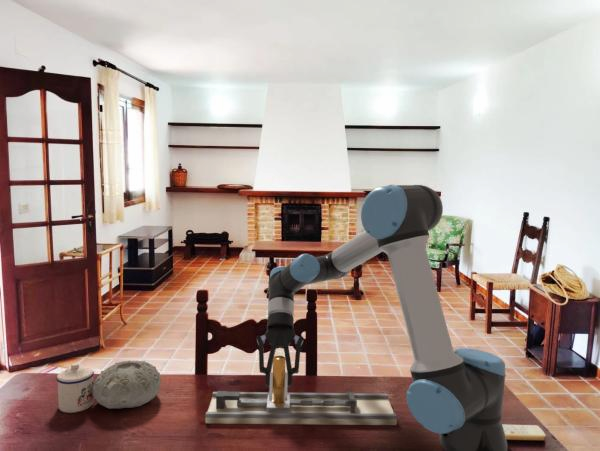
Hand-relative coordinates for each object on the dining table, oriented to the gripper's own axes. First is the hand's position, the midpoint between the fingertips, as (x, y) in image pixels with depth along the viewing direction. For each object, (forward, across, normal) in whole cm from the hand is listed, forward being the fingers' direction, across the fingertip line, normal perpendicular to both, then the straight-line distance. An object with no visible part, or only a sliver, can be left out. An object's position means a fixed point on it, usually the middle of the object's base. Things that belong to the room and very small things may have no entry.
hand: (278, 398), depth 122 cm
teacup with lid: (-1, +55, -10) cm, 55 cm away
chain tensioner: (0, -5, -5) cm, 7 cm away
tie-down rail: (+1, -6, -7) cm, 9 cm away
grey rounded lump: (-2, +42, -10) cm, 43 cm away
